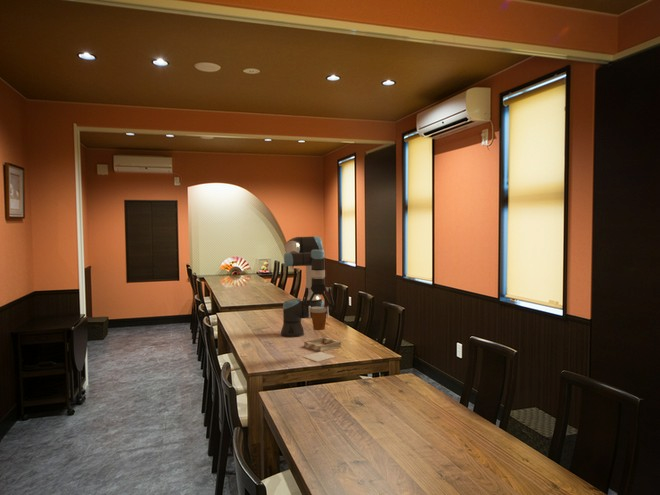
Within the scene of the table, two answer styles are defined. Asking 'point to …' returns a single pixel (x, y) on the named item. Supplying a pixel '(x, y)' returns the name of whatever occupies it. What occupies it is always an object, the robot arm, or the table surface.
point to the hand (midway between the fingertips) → (319, 318)
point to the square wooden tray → (330, 345)
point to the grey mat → (319, 356)
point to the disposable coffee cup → (318, 317)
